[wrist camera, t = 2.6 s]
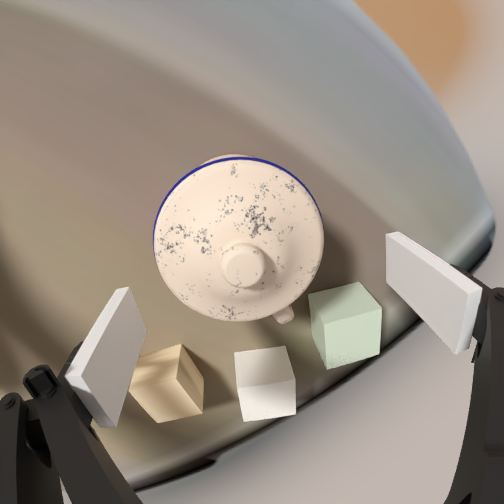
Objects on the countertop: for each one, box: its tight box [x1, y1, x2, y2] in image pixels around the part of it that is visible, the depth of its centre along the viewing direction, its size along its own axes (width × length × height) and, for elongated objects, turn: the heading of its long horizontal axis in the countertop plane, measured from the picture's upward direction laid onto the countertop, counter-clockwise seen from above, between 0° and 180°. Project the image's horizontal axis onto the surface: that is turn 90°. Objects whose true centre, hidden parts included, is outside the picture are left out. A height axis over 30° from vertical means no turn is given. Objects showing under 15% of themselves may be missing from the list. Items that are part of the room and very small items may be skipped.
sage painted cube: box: [308, 282, 382, 370], centre depth 26 cm, size 5×5×5 cm
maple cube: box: [128, 344, 204, 423], centre depth 27 cm, size 5×5×5 cm
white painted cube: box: [234, 346, 296, 422], centre depth 28 cm, size 5×5×5 cm
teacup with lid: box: [153, 154, 324, 324], centre depth 19 cm, size 12×9×12 cm
